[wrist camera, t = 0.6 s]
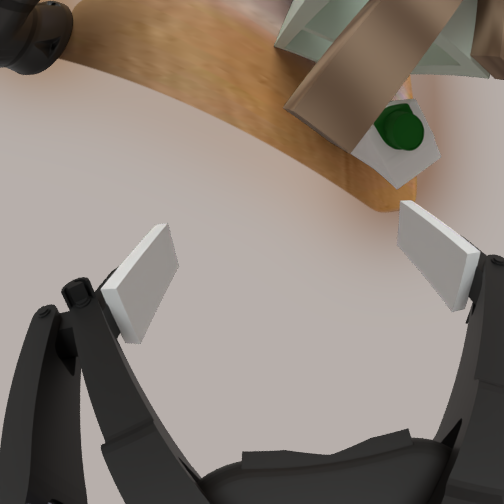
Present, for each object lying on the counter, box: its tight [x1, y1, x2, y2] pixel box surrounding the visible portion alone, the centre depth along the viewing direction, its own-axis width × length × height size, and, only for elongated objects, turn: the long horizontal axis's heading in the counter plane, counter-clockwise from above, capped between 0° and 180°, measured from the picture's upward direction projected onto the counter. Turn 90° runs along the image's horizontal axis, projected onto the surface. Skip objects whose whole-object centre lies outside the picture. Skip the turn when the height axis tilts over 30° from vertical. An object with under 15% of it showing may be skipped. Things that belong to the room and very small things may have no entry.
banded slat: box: [470, 0, 504, 80], centre depth 6 cm, size 13×3×3 cm, turn 165°
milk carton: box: [347, 99, 441, 189], centre depth 32 cm, size 9×9×20 cm
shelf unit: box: [274, 0, 490, 79], centre depth 19 cm, size 14×13×30 cm
